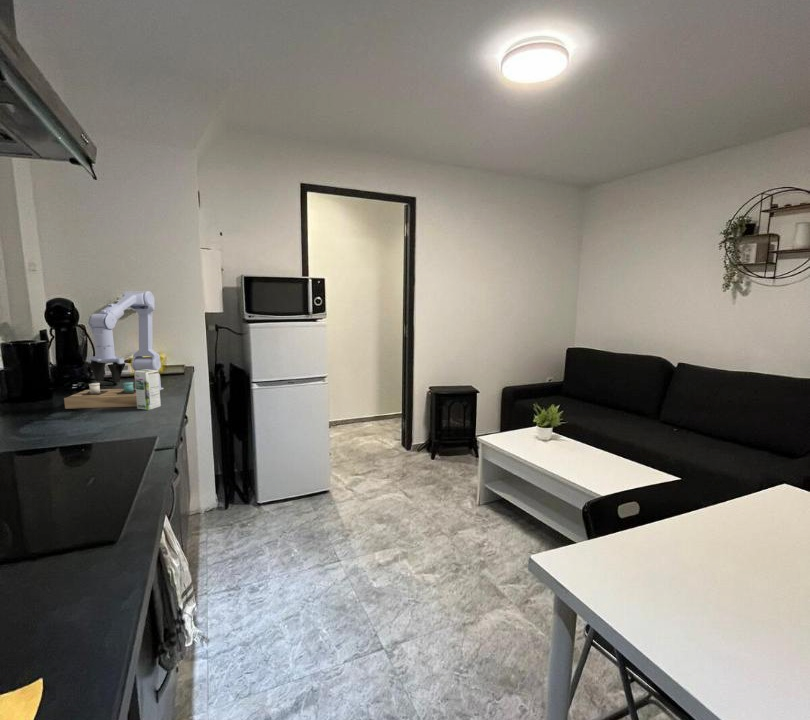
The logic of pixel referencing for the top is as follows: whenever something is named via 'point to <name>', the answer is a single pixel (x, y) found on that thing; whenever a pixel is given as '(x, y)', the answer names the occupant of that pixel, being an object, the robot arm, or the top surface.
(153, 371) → the syrup box
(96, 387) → the cream peg
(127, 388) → the teal peg
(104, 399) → the oak board
